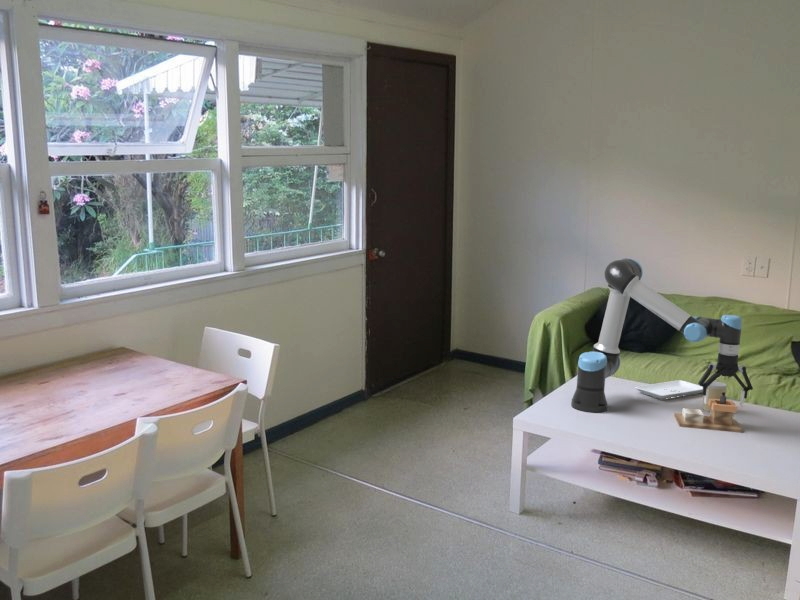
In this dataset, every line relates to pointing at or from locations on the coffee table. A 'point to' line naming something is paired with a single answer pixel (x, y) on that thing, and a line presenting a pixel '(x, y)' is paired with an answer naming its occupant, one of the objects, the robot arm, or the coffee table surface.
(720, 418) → the stand
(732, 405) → the square frame
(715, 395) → the coffee cup
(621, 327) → the robot arm
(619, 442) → the coffee table surface
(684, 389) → the tray
